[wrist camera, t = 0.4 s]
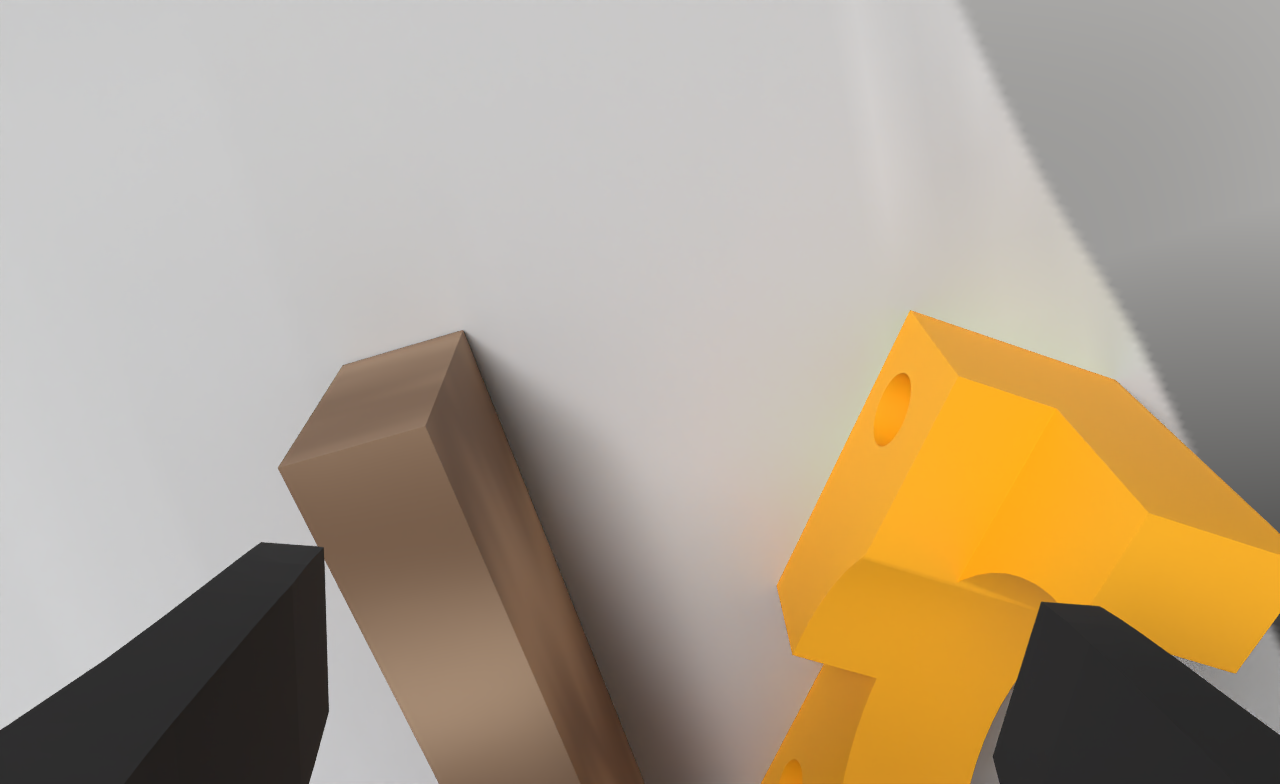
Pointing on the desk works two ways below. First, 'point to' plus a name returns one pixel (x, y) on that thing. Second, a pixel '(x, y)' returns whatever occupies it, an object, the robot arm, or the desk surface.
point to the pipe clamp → (997, 552)
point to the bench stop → (453, 573)
